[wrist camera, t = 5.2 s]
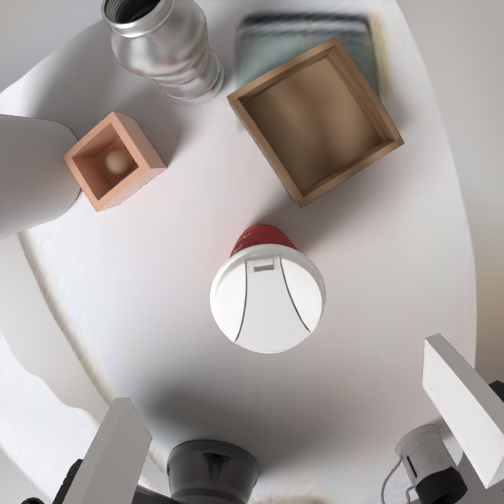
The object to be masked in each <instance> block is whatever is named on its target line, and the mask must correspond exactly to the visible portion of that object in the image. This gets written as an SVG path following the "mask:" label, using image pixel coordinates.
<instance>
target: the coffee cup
mask: <svg viewBox="0 0 504 504" xmlns="http://www.w3.org/2000/svg"><path fill="white" fill-rule="evenodd" d="M325 302H326V291H325V285H324V282H323V279H322V276H321V274H320V272H319V270H318V269H317V267H316V266H315V265H314V264H313V262H312V261H311V260H310V259H308V258H307V257H306V256H305V255H303V254H302V253H300V252H299V251H298V250H297V249H296V248H295V247H294V245H293V244H292V243H291V242H290V241H289V239H288V238H287V237H286V236H285V235H284V234H283V233H282V232H281V231H280V230H278V229H277V228H275V227H272V226H268V225H258V226H254V227H251V228H249V229H248V230H246V231H245V232H244V233H243V234H242V235H241V236H240V238H239V239H238V241H237V243H236V245H235V247H234V249H233V251H232V253H231V255H230V257H229V259H228V260H227V261H226V262H225V263H224V264H223V265H222V266H221V267H220V269H219V271H218V272H217V274H216V276H215V278H214V280H213V283H212V287H211V291H210V304H211V310H212V313H213V316H214V318H215V321H216V323H217V324H218V326H219V327H220V329H221V330H222V331H223V332H224V333H225V335H226V336H227V337H228V338H229V339H230V340H231V341H232V342H235V343H236V344H238V345H240V346H242V347H244V348H246V349H249V350H251V351H255V352H259V353H265V354H272V353H279V352H283V351H286V350H288V349H290V348H292V347H294V346H296V345H298V344H299V343H300V342H302V341H303V340H304V339H305V338H306V337H308V336H309V335H310V334H311V333H312V332H313V331H314V329H315V328H316V326H317V324H318V322H319V320H320V318H321V316H322V313H323V311H324V307H325Z"/></svg>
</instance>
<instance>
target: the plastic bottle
mask: <svg viewBox="0 0 504 504" xmlns="http://www.w3.org/2000/svg"><path fill="white" fill-rule="evenodd" d="M101 12H102V16H103V18H104V20H105V21H106V22H107V23H108V24H109V26H110V27H111V29H112V35H111V46H112V50H113V53H114V56H115V58H116V59H117V61H118V63H119V64H120V65H121V66H122V67H123V68H125V69H127V70H128V71H130V72H132V73H134V74H137V75H140V76H144V77H147V78H150V79H152V80H154V81H156V82H157V83H158V84H159V87H160V89H161V91H162V92H163V94H164V95H165V97H166V98H167V99H168V100H170V101H172V102H173V103H176V104H178V105H184V106H196V105H200V104H203V103H205V102H207V101H209V100H211V99H212V98H213V97H214V96H215V95H216V94H217V93H218V92H219V90H220V88H221V87H222V83H223V80H224V74H225V71H224V66H223V63H222V61H221V59H220V58H219V57H218V56H217V54H215V53H214V52H213V51H212V50H211V49H210V48H209V45H208V42H207V22H206V17H205V15H204V12H203V10H202V9H201V8H200V6H199V5H198V4H197V3H195V2H194V1H193V0H103V3H102V8H101Z"/></svg>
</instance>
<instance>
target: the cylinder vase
mask: <svg viewBox="0 0 504 504" xmlns="http://www.w3.org/2000/svg"><path fill="white" fill-rule="evenodd" d="M77 142H78V140H77V138H76V137H75V135H74V134H73V133H72V131H71V130H70V129H68V128H67V127H66V126H65V125H63V124H61V123H59V122H55V121H50V120H43V119H36V118H28V117H21V116H13V115H4V114H0V239H2V238H5V237H7V236H10V235H12V234H15V233H18V232H21V231H23V230H26V229H29V228H31V227H34V226H37V225H40V224H43V223H46V222H48V221H51V220H54V219H56V218H58V217H60V216H62V215H63V214H64V213H65V212H67V211H68V209H69V208H70V207H71V206H72V205H73V203H74V202H75V200H76V198H77V196H78V194H79V191H80V188H81V187H80V185H79V183H78V182H77V180H76V178H75V177H74V175H73V173H72V172H71V170H70V168H69V167H68V165H67V163H66V162H65V160H64V158H63V156H64V155H65V154H66V153H67V152H68V151H69V150H70V149H71V148H72V147H73V146H74V145H75V144H76V143H77Z"/></svg>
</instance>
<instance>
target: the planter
mask: <svg viewBox="0 0 504 504" xmlns="http://www.w3.org/2000/svg"><path fill="white" fill-rule="evenodd" d="M115 148H125V149H127V150H128V151H129V152H130V153H131V155H132V158H133V163H132V167H131V169H130V170H129V171H128V172H127V173H126V174H124V175H120V176H117V175H113V174H111V173H110V172H109V171H108V170H107V168H106V164H105V161H106V157H107V155H108V153H109V152H110V151H111V150H113V149H115ZM63 158H64V160H65V162H66V163H67V165H68V167H69V168H70V170H71V172H72V173H73V175H74V177H75V178H76V180H77V182H78V183H79V185H80V187H81V188H82V190H83V192H84V193H85V195H86V196H87V198H88V200H89V201H90V203H91V204H92V206H93V207H94V209H95V211H96V212H100V211H102V210H105V209H108V208H111V207H114V206H117V205H120V204H121V203H122V202H124V201H125V200H126V199H127V198H129V197H130V196H131V195H132V194H134V193H135V192H136V191H137V190H139V189H140V188H141V187H143V186H144V185H145V184H147V183H148V182H149V181H150V180H152V179H153V178H154V177H156V176H157V175H158V174H160V173H161V172H162V171H164V170H165V169H166V168H167V167H166V165H165V164H164V162H163V161H162V159H161V158H160V156H159V155H158V153H157V152H156V150H155V149H154V147H153V146H152V144H151V143H150V141H149V140H148V138H147V137H146V135H145V134H144V132H143V131H142V129H141V128H140V126H139V125H138V123H137V121H136V120H135V118H132V117H129V116H126V115H123V114H121V113H118V112H115V111H112V112H111V113H110V114H109V115H108V116H106V117H105V118H104V119H103V120H102V121H101V122H99V123H98V124H97V125H96V126H95V127H94V128H93V129H91V130H90V131H89V132H88V133H87V134H86V135H85V136H84V137H83V138H82V139H81V140H79V141H78V142H77V143H76V144H75V145H74V146H73V147H72V148H71V149H70V150H69V151H68V152H67V153H66V154H65V155H64V156H63Z"/></svg>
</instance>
